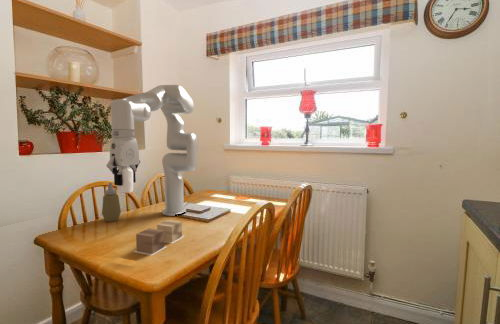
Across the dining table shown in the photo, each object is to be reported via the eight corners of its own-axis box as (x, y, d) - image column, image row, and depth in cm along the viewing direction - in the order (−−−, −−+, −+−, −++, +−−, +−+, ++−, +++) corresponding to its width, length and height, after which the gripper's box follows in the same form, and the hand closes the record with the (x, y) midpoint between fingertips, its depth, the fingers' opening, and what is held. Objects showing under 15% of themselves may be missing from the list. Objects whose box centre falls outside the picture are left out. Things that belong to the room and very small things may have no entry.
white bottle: (114, 158, 104) (131, 158, 107) (116, 190, 105) (132, 189, 108) (117, 160, 99) (134, 159, 102) (118, 193, 100) (135, 192, 103)
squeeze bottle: (102, 218, 136) (101, 182, 134) (121, 217, 139) (120, 181, 137) (101, 223, 128) (99, 184, 127) (120, 221, 131) (119, 183, 130)
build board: (163, 234, 115) (163, 231, 115) (193, 239, 111) (193, 235, 110) (123, 255, 95) (122, 252, 95) (157, 262, 90) (157, 258, 90)
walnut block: (149, 244, 102) (149, 228, 101) (164, 246, 99) (164, 230, 99) (136, 251, 95) (136, 234, 95) (152, 254, 93) (151, 236, 93)
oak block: (168, 234, 112) (167, 219, 111) (182, 236, 110) (181, 221, 109) (157, 240, 106) (157, 224, 105) (172, 242, 103) (171, 226, 103)
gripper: (112, 135, 92) (114, 188, 94) (148, 134, 108) (149, 180, 110) (95, 134, 95) (97, 187, 97) (132, 134, 111) (134, 179, 113)
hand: (125, 183), depth 104 cm, fingers closed on white bottle, 5 cm apart
